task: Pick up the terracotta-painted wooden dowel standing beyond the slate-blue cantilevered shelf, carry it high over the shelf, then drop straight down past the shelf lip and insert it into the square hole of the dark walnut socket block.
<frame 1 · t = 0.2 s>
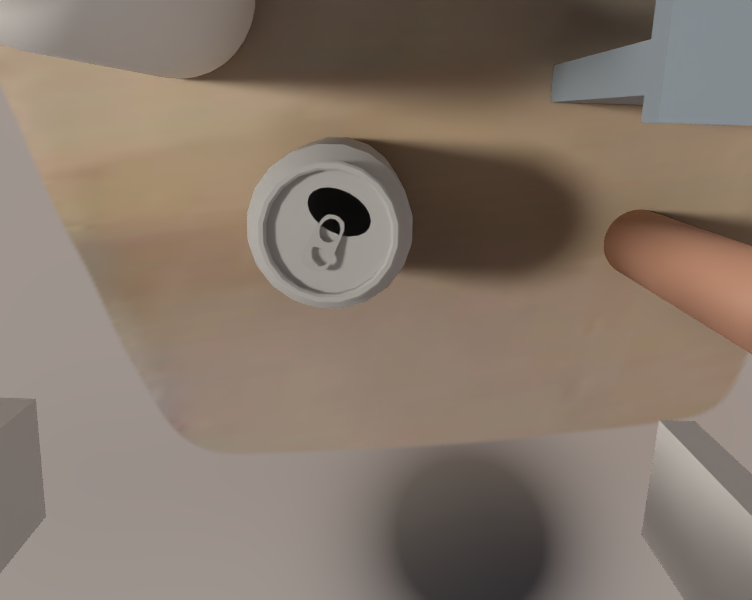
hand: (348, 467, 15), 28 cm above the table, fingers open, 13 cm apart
can: (339, 200, 41), on the table
peg: (637, 242, 42), on the table
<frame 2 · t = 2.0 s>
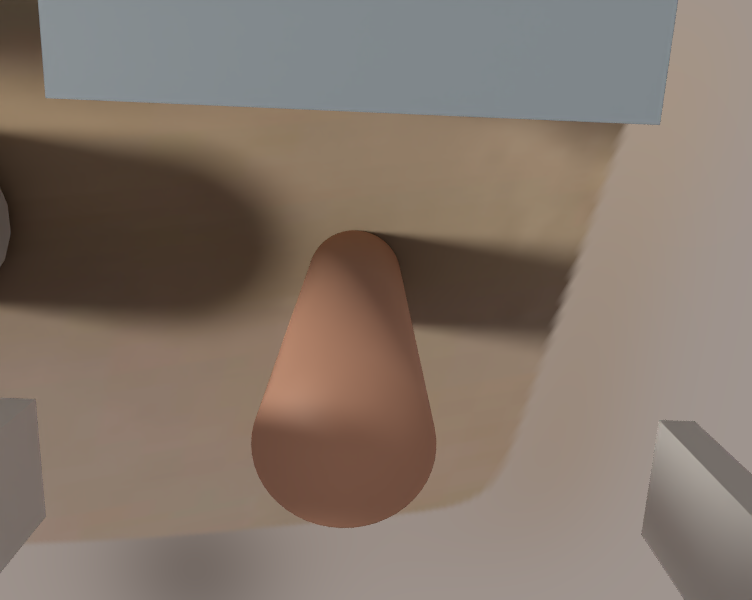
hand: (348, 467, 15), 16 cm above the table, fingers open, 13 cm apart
peg: (354, 275, 31), on the table
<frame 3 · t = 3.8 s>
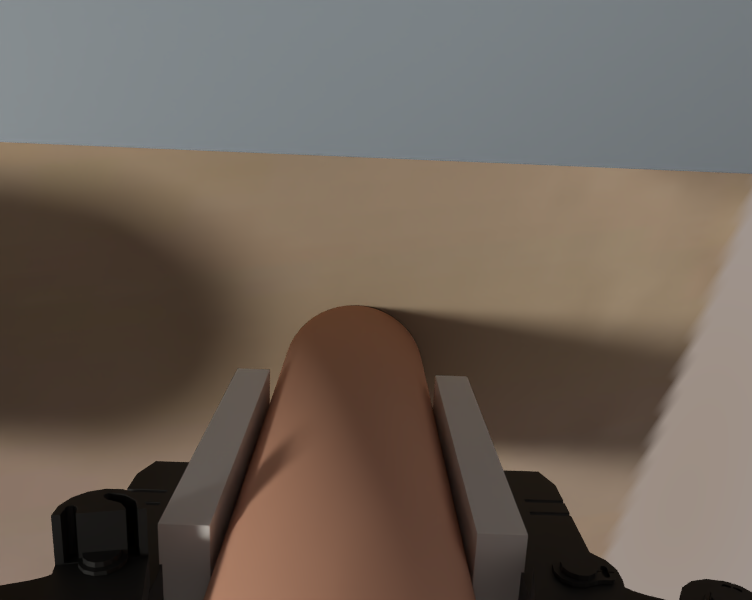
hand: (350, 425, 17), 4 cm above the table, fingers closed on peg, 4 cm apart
peg: (353, 371, 20), on the table, touching gripper
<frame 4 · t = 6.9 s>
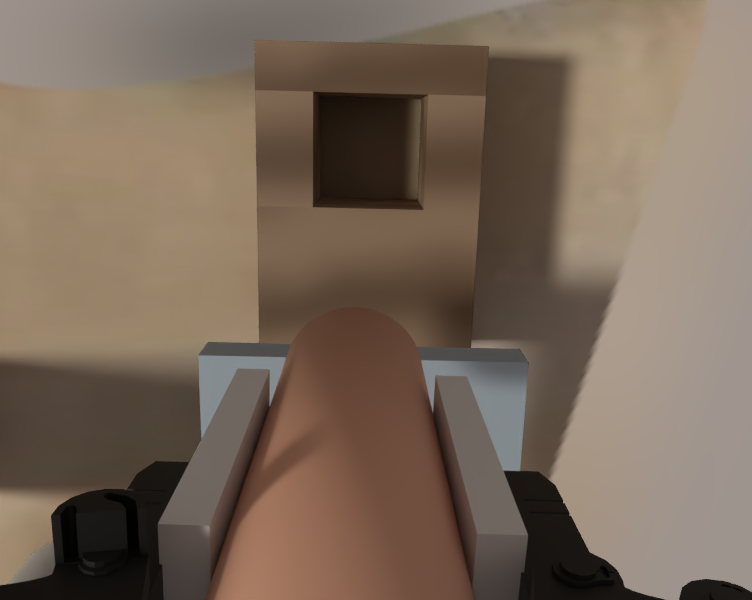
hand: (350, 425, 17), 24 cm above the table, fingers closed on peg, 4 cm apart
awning: (364, 401, 42), on the table
can: (84, 580, 46), on the table
peg: (353, 373, 20), point 20 cm above the table, touching gripper
socket: (368, 203, 40), on the table
when the fingers open (6 cm above the table, at t = 10.2 s): peg drops 2 cm, resting in socket.
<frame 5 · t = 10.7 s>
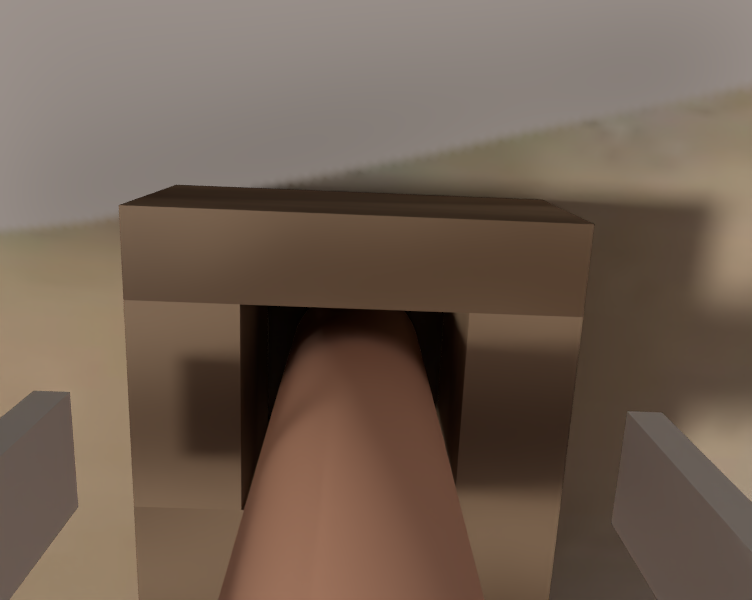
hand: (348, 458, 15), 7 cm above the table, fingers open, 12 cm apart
peg: (355, 350, 22), resting in socket
socket: (351, 436, 23), on the table
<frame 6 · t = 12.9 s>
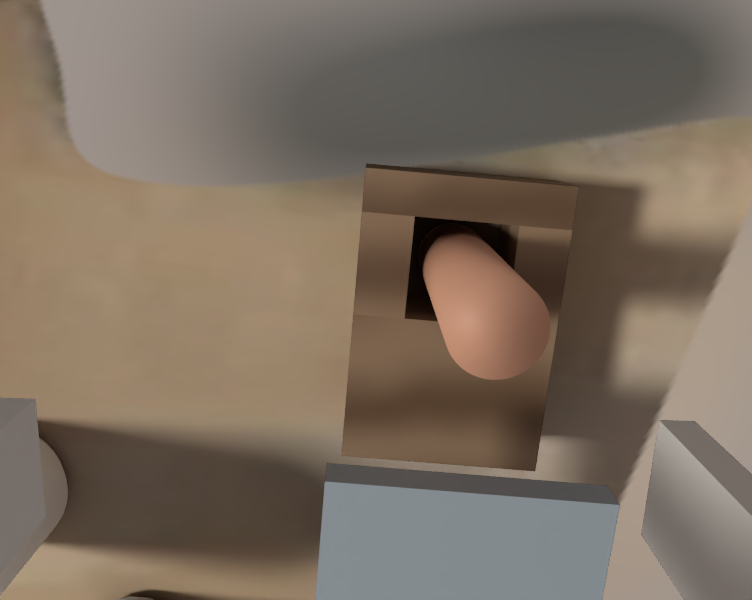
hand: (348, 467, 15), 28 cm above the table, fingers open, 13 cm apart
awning: (424, 484, 45), on the table
peg: (451, 256, 42), resting in socket
socket: (445, 305, 42), on the table
alcohol: (7, 477, 45), on the table
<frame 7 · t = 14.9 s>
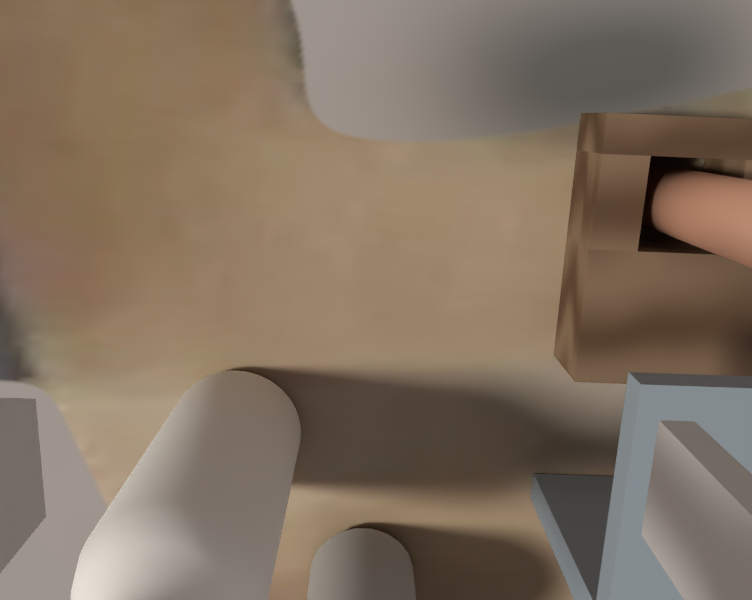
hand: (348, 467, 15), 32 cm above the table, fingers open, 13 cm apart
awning: (625, 411, 49), on the table
can: (362, 564, 52), on the table
peg: (656, 196, 45), resting in socket
socket: (649, 242, 46), on the table
alcohol: (239, 424, 49), on the table
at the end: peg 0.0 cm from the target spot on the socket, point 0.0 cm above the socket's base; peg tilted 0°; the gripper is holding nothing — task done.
